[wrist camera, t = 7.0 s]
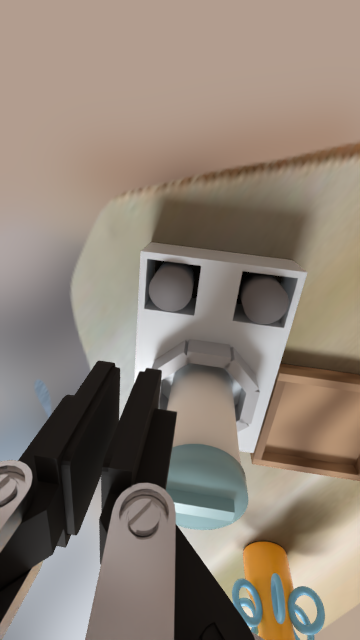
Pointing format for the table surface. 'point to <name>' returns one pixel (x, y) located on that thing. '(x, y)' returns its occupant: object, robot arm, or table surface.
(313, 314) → the table surface
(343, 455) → the tray
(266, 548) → the cylinder
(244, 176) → the table surface
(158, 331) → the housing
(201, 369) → the cylinder
